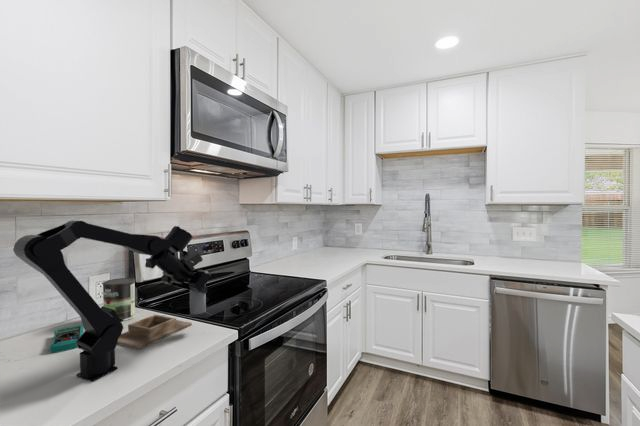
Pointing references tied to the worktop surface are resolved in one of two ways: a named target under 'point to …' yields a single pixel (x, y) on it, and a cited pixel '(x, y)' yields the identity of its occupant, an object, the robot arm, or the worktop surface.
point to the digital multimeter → (66, 338)
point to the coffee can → (120, 297)
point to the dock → (150, 331)
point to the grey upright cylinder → (197, 302)
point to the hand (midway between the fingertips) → (201, 291)
